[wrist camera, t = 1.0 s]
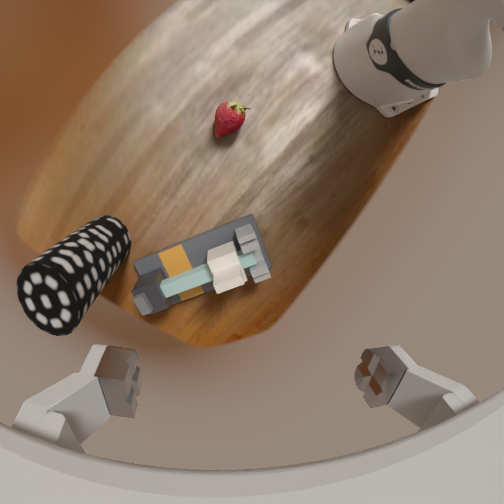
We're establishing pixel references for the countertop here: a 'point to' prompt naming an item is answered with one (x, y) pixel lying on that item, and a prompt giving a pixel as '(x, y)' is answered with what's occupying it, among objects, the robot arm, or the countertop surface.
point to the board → (197, 255)
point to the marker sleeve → (226, 267)
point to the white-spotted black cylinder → (72, 275)
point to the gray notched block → (249, 244)
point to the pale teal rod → (198, 276)
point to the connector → (150, 293)
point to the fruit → (229, 118)
